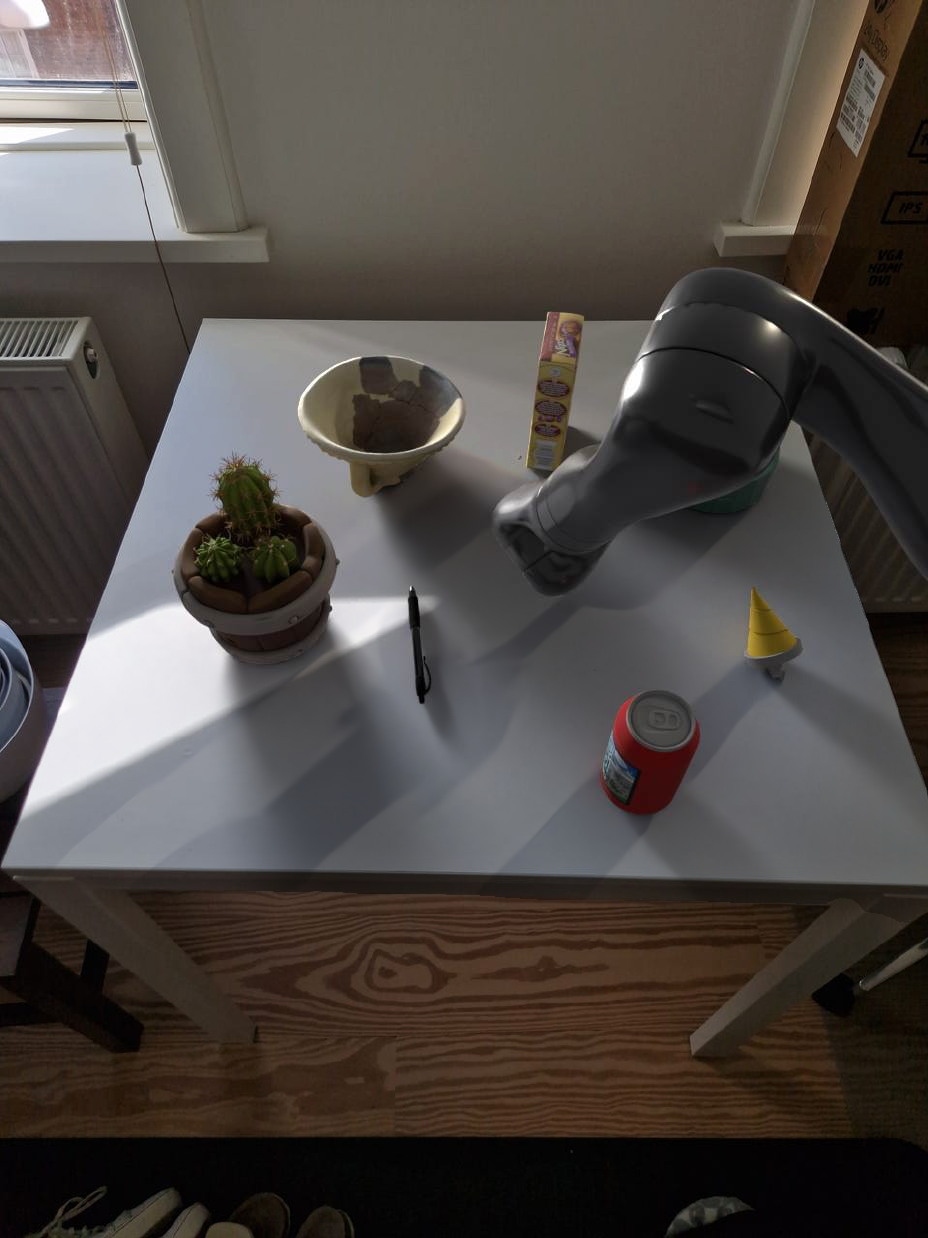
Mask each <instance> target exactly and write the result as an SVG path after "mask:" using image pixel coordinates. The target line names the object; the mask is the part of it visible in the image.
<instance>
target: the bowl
mask: <svg viewBox="0 0 928 1238" xmlns="http://www.w3.org/2000/svg"><path fill="white" fill-rule="evenodd" d="M466 413H467V406H466V402H465V399H464V398H463V395H462V394H461V392H460V390H459V389H458V388H457V387H456V386H455V384H454V383H453V382H452V381H451V380H450V379H449V378H448V377H447V376H446V375H445V374H444V373H442V372H441V371H439V370H437V369H435V368H433V367H431V366H429V365H427V364H425V363H422V362H419V361H417V360H414V359H410V358H407V357H401V356H395V355H368V356H366V355H365V356H358V357H353V358H350V359H348V360H346V361H345V360H344V361H342V362H340V363H337V364H335V365H333V366H331V367H330V368H329V369H327V370H326V371H324V372H322V373H321V374H320V375H318V376H317V377H316V378H315V379H314V380H313V381H312V382H310V384H309V385H308V386H307V387H306V389H305V390H304V391H303V393H302V395H300V398H299V403H298V406H297V415H298V420H299V422H300V425H301V427H302V430H303V432H304V433H305V435H306V438H307V439H308V440H310V442H311V443H312V444H314V445H317V446H318V448H319V449H320V451H321V452H322V453H327V454H328V456H330V457H332V458H336V459H337V460H338V461H339V460H341V461H345V462H346V463H348V464H349V479H350V486H351V489H352V491H353V492H354V494H356V495H357V496H358V497H360V498H363V499H364V498H370V497H371V496H373V495H374V494H375V493H377V492H378V491H379V490H380V489H382V488H384V487H386V486H395V485H398V484H399V483H400V484H401V483H404V482H405V481H406V480H408V479H409V478H410V477H411V476H412V475H413V474H414V472H415V469H416V468H417V465H418V464H420V463H421V462H423V461H424V459H426V458H427V457H428V456H431V457H433V456H435V455H436V454H437V453H440V452H442V451H443V449H444V448H445V447H448V446H449V445H450V443H451V442H453V441H454V440H455V437H456V436H457V435H458V434H459V432H460V430H461V429H462V427H463V425H464V422H465V420H466V419H465V418H466Z"/></svg>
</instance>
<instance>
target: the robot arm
mask: <svg viewBox="0 0 928 1238" xmlns="http://www.w3.org/2000/svg"><path fill="white" fill-rule="evenodd" d="M791 422H794V423H795V424H797V425H798V426H800V427H801V428H803V429H804V430H806V431H808V433H810V434H812V435H813V436H815V437H816V438H818V439H819V440H820V441H822V442H823V443H824V444H826V445H827V446H828V447H829V448H831V449H832V450H833V451H834V452H836V453H837V454H838V455H839V457H840V458H841V459H843V461H845V463H846V464H847V465H848V466H849V467H850V468H851V470H852V471H853V472H854V473H855V475H856V476H857V477H858V479H859V480H860V482H861V483H862V485H863V486H864V488H865V490H866V491H867V492H868V494H869V496H870V497H871V499H872V500H873V503H874V504H875V506H876V508H877V509H878V511H879V512H880V514H881V516H882V518H883V519H884V521H885V522H886V524H887V525H888V527H889V529H890V531H891V533H892V534H893V537H894V538H895V539H896V541H897V542H898V544H899V545H900V547H901V549H902V550H903V551H904V554H905V555H906V556H907V558H908V559H909V560H910V562H911V564H912V565H913V566H914V568H915V569H916V570H917V572H919V573H920V575H921V576H922V577H923V578H924V579H925V580H926V581H927V582H928V385H927V384H925V383H924V382H922V381H921V380H919V379H918V378H916V377H915V376H914V375H912V374H911V373H909V372H908V371H906V369H904V368H902V367H901V366H900V365H898V364H897V363H895V361H893V360H891V359H889V358H888V357H887V356H885V355H884V354H882V353H881V352H880V351H878V349H876V348H875V347H873V346H872V345H870V344H869V343H868V342H866V341H865V340H864V339H863V338H861V337H860V336H858V335H857V334H856V333H854V332H853V331H852V330H850V329H849V328H847V326H845V325H843V324H842V323H841V322H839V321H838V320H836V318H834V317H832V316H831V315H830V314H828V313H827V312H826V311H824V310H823V309H821V308H820V307H818V306H817V305H815V304H814V303H812V302H810V301H809V299H806V298H805V297H804V296H802V295H800V294H799V293H797V292H795V291H794V290H792V289H790V288H788V287H786V286H785V285H784V284H783V285H782V284H781V283H779V282H777V281H775V280H773V279H770V278H768V277H766V276H763V275H760V274H757V273H754V272H752V271H747V270H744V269H740V268H734V267H717V266H715V267H706V268H702V269H697V270H695V271H693V272H691V273H689V274H687V275H684V276H683V277H682V278H681V279H680V280H678V281H677V282H676V283H675V284H674V285H673V287H672V288H671V289H670V291H669V293H668V294H667V295H666V297H665V299H664V301H663V302H662V305H661V306H660V308H659V310H658V313H656V316H655V318H654V320H653V322H652V324H651V327H650V329H649V331H648V333H647V336H646V337H645V339H644V341H643V343H642V345H641V348H640V349H639V352H638V353H637V355H636V357H635V360H634V361H633V364H632V366H631V368H630V369H629V371H628V374H627V375H626V377H625V378H624V381H623V383H622V386H621V391H620V394H619V399H618V402H617V406H616V408H615V412H614V413H613V417H612V419H611V422H610V423H609V426H608V428H607V430H606V432H605V435H604V436H603V439H602V441H601V443H600V444H593V445H589V446H585V447H583V448H580V449H578V450H577V451H575V452H574V453H572V454H570V455H569V456H568V457H567V458H566V459H565V460H564V461H563V462H561V464H560V466H559V467H558V468H557V469H556V470H555V471H552V473H551V474H550V475H549V477H548V478H542V479H538V480H533V481H531V482H528V483H525V484H523V485H521V486H518V487H516V488H515V489H513V490H511V491H510V492H508V493H507V494H506V495H505V496H503V497H502V498H501V499H500V501H498V503H497V504H496V506H495V507H494V510H493V512H492V515H491V529H492V533H493V535H494V537H495V538H496V539H495V540H496V541H497V542H498V543H499V544H500V546H501V547H502V549H503V550H504V551H505V552H506V554H507V555H508V557H509V558H510V559H511V560H512V562H513V563H514V564H515V566H516V568H518V570H519V572H520V573H522V575H523V576H524V578H525V579H526V581H527V583H529V585H530V586H531V587H532V588H533V589H534V591H536V592H537V593H538V594H539V595H542V596H544V597H551V598H552V597H553V598H554V597H561V596H565V595H567V594H570V593H571V592H573V591H575V590H576V589H577V588H579V587H580V586H581V585H582V584H583V583H584V582H585V581H586V580H587V579H588V578H589V576H590V575H591V574H592V573H593V571H594V570H595V569H596V567H597V565H598V563H599V562H600V561H601V559H602V557H604V554H605V553H606V551H607V549H608V548H609V547H610V546H611V544H612V543H613V541H614V540H615V539H616V537H617V536H618V535H619V534H621V533H622V532H623V531H625V530H626V529H628V528H629V527H630V526H633V525H635V524H636V523H639V522H640V523H641V522H643V521H645V520H649V519H653V518H656V517H659V516H663V515H667V514H670V513H674V512H676V511H678V510H683V509H685V508H689V506H692V505H696V504H699V503H702V502H706V501H709V500H712V499H715V498H718V497H721V496H724V495H726V494H729V493H731V492H733V491H736V490H738V489H740V488H742V487H743V486H745V485H747V484H749V483H750V482H752V481H753V480H755V479H756V478H757V477H759V476H760V475H761V474H762V473H763V472H764V471H765V469H766V468H767V467H768V465H769V464H770V462H771V461H772V459H773V458H774V456H775V454H776V453H777V451H778V449H779V447H780V448H781V445H782V443H783V441H784V439H785V436H786V434H787V431H788V429H789V426H790V424H791Z"/></svg>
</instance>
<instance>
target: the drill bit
mask: <svg viewBox="0 0 928 1238" xmlns="http://www.w3.org/2000/svg"><path fill="white" fill-rule="evenodd" d="M749 608H750V610H749V622H748V623H749V624H748V638H747V639H748V640H747V648H746V649H745V650H744V652H743V657H744V660H745V664H746V665H747V666H748V667H751V668H754V669H755V668H756V669H761V668H766V669H767V670H768V673H769V674H770V676H771V677H772V678H778V679H779V680H780V681H781V682H782V683H784V681H785V678H786V668H787V662H790V661H792V660H794V659H797V658H798V657H799V656H800V655H802V654H803V652H804V647H803V643H802V640H801V637H800V636H797V635H793V633H792V632H791V631H790V630H789V629H788V628H787V627H786V625H785V624H784V622H782V620H781V619H780V618H779V617H778V615H777V614H776V613H775V611H773V610H772V608H771V606H770V605H769V604H768V603H767V602H766V600H765V599H764V597H762V595H761V594H760V593H759V592H758V591H757V589H756V588H755V587H753V586H751V593H750V607H749ZM771 610H772V611H771Z"/></svg>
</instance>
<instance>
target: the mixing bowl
mask: <svg viewBox="0 0 928 1238" xmlns="http://www.w3.org/2000/svg"><path fill="white" fill-rule="evenodd" d="M780 453H781V446H780V447H779V449H778V451H777V453H776V454H775V456H774V458H773V459H772V461H771V462H770V464H769V465H768V467H767V468H766V469H765V471H764V472H763V473H762V474H761V475H760V476H759V477H757V478H756V479H755V480H753V481H752V482H750V483H749V484H747V485H745V486H743V487H742V488H740V489H738V490H736V491H733V492H731V493H729V494H726V495H724V496H721V497H718V498H715V499H712V500H709V501H706V502H702V503H699V504H696V505H692V506H689V507H688V508H690V509H692V510H694V511H695V510H696V511H700V512H703V513H704V512H705V513H709V514H731V513H735V512H739V511H744V510H747V509H749V508H750V507H751V506H753V505H755V504H756V503H758V502H759V501H760V500H761V499H762V498H763V496H764V495H765V493H766V492H767V491H768V488H769V486H770V483H771V481H772V478H773V476H774V475H775V471H776V469H777V467H778V464H779V462H780V461H779V460H780Z"/></svg>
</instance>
